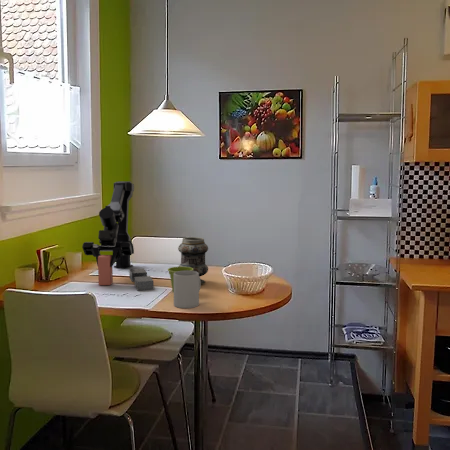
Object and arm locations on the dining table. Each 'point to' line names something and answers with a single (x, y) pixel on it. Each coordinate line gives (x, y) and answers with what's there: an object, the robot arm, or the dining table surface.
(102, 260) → the pink rectangular block
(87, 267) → the dining table surface
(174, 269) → the plant pot
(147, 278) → the gray block
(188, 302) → the mug
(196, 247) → the apothecary jar
